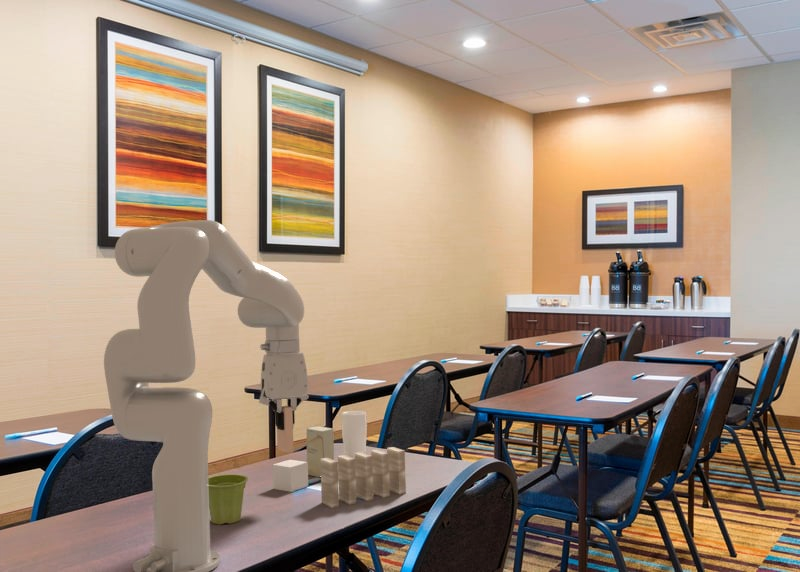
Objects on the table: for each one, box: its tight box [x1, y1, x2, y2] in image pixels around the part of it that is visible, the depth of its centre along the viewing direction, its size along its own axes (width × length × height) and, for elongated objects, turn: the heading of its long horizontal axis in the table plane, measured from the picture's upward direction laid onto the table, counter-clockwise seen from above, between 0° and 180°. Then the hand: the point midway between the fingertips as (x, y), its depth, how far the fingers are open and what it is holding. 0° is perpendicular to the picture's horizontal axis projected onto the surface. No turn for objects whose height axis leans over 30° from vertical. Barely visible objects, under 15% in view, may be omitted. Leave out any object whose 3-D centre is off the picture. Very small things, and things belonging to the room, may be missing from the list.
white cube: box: [272, 459, 309, 493], centre depth 186 cm, size 6×6×6 cm
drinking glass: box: [340, 410, 368, 458], centre depth 203 cm, size 7×7×15 cm
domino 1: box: [276, 404, 295, 453], centre depth 173 cm, size 2×5×10 cm, turn 32°
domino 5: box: [370, 449, 391, 499], centre depth 177 cm, size 2×5×10 cm, turn 32°
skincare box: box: [306, 425, 335, 478], centre depth 197 cm, size 6×4×12 cm
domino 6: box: [386, 446, 407, 495], centre depth 179 cm, size 2×5×10 cm, turn 32°
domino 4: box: [355, 452, 374, 502], centre depth 175 cm, size 2×5×10 cm, turn 32°
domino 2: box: [320, 458, 340, 509], centre depth 170 cm, size 2×5×10 cm, turn 32°
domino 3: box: [337, 454, 357, 505], centre depth 172 cm, size 2×5×10 cm, turn 32°
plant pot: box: [208, 473, 249, 525], centre depth 161 cm, size 9×9×9 cm
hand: (285, 428), depth 173 cm, fingers closed on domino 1, 1 cm apart
